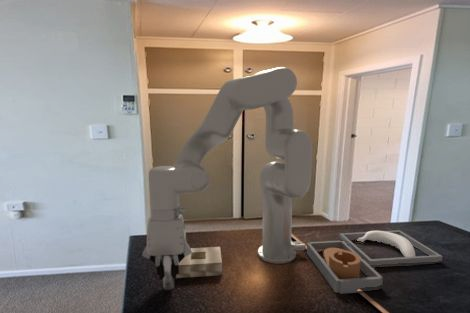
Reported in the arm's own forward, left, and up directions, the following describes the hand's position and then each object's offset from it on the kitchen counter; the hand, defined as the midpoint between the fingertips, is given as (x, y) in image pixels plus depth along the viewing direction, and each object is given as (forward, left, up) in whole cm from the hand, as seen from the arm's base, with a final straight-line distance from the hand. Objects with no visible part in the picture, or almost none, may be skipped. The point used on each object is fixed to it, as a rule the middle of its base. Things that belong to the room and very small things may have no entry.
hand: (168, 276), depth 79 cm
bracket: (-51, -3, -4) cm, 51 cm away
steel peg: (0, 0, -3) cm, 3 cm away
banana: (-72, -12, -3) cm, 73 cm away
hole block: (-8, -9, -3) cm, 12 cm away
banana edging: (-72, -12, -3) cm, 73 cm away
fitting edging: (-51, -3, -3) cm, 51 cm away
